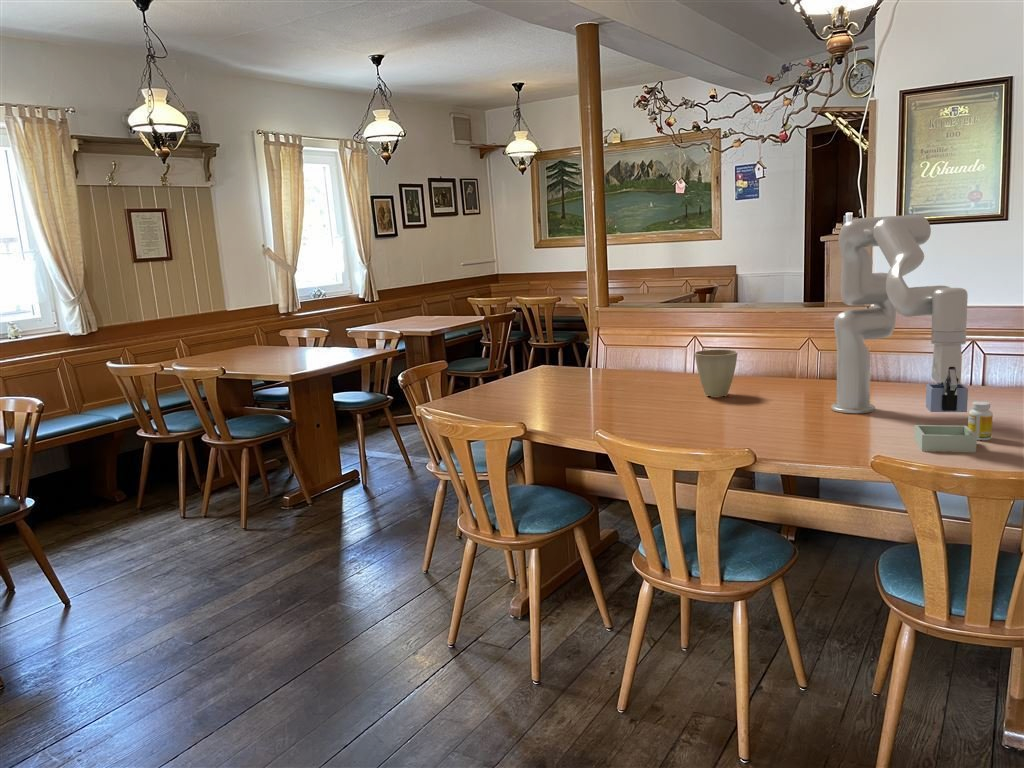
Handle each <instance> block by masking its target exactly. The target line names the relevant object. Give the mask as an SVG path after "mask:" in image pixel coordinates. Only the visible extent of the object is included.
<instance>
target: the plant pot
mask: <svg viewBox="0 0 1024 768" xmlns="http://www.w3.org/2000/svg"><path fill="white" fill-rule="evenodd" d="M694 358H695V364H696V369H697V372H698V376H699V380H700V383H701V386H702V389H703V391H704V394H705V396H706V395H708V396H724V395H727V396H728V395H729V394H728V393H729V391H730V388H731V386H732V383H733V379H734V375H735V372H736V371H735V370H736V366H737V359H738V351H737V350H733V349H705V350H698V351H694ZM708 396H707V397H708Z"/></svg>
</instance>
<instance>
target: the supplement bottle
mask: <svg viewBox="0 0 1024 768" xmlns="http://www.w3.org/2000/svg"><path fill="white" fill-rule="evenodd" d="M971 408H972V409H970V410H969V411H968V415H967V416H968V419H967V427H968V428H969V429H970V430H971V431H972V432H973V433H974V434H975V435H976V436H977V440H976V441H980V440H982V441H990V440H991V439H992V431H993V418H994V417H993V415H994V414H993V412H992V411H991V410H990V409H991V403H990V402H988V401H979V400H978V401H972V404H971Z"/></svg>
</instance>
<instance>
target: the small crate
mask: <svg viewBox="0 0 1024 768" xmlns="http://www.w3.org/2000/svg"><path fill="white" fill-rule="evenodd" d="M947 387H948V386H947ZM925 392H926V395H925V397H926V399H925V408H926V409H928V411H929V412H930V413H968V396H969V394H968V393H969V387H966V385H964V384H962V383H958V384H957V410H956V411H943V410H942V395H944V389H943V384H937V383H931V384H930V383H926V391H925Z"/></svg>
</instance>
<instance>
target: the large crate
mask: <svg viewBox="0 0 1024 768" xmlns="http://www.w3.org/2000/svg"><path fill="white" fill-rule="evenodd" d="M913 440H915V441H914V442H915V444H916V443H917V444H916V445H917V446H919V447H920V448H919V447H918V448H919V450H920V451H921V450H922V451H921V452H936V451H952V452H951V453H976V452H977V441H978V440H977V436H976V435H975V434H974V433H973V432H972V431H971V430H970V429H969V428H968V425H932V424H929V425H926V424H924V425H922V424H921V425H919V424H915V425H914V436H913ZM923 450H925V451H923ZM926 450H927V451H926Z"/></svg>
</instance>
